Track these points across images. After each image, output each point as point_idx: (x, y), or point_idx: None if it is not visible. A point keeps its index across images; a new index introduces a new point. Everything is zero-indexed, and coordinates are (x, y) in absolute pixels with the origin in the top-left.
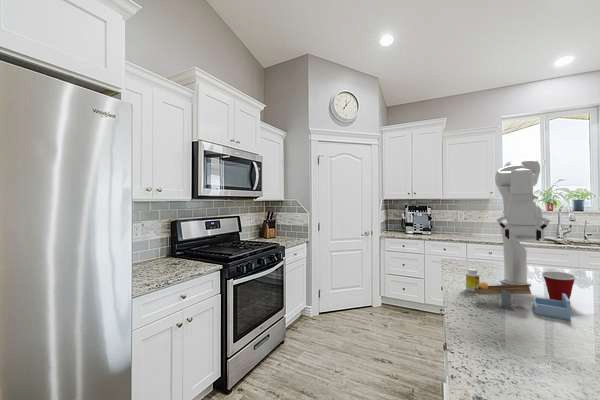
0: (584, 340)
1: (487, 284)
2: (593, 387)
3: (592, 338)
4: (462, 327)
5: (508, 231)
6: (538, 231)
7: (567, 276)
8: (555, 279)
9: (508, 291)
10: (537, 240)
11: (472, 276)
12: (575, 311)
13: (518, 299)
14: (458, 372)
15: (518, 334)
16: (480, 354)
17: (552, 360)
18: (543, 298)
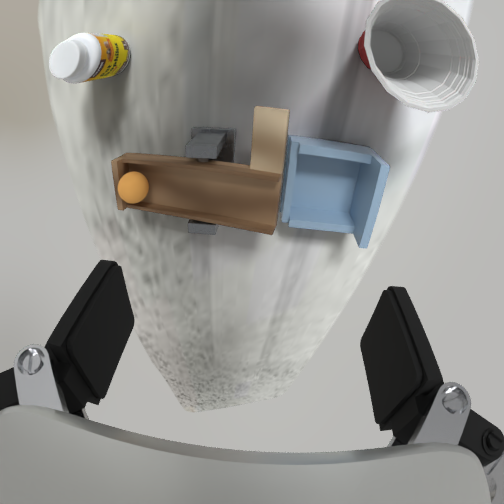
0: (332, 306)
1: (141, 191)
2: (286, 390)
3: (350, 293)
4: (153, 331)
5: (104, 387)
6: (388, 424)
7: (456, 30)
8: (400, 96)
9: (209, 231)
10: (363, 342)
11: (80, 82)
12: (396, 132)
13: (255, 75)
14: (181, 399)
15: (232, 326)
16: (191, 378)
17: (264, 368)
18: (322, 151)
